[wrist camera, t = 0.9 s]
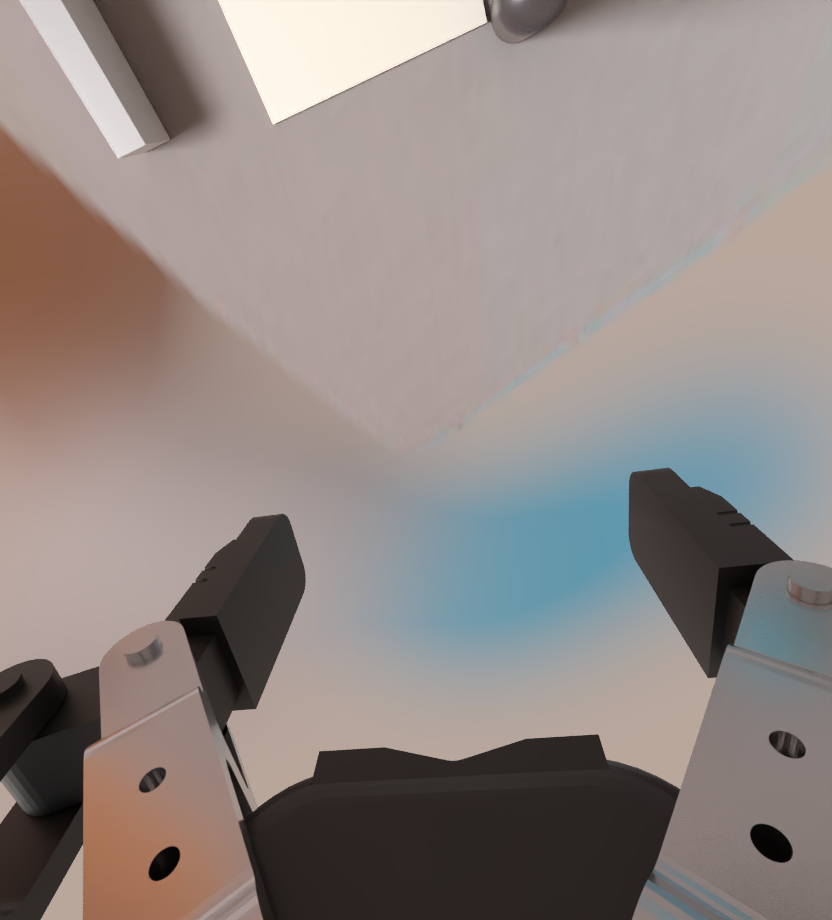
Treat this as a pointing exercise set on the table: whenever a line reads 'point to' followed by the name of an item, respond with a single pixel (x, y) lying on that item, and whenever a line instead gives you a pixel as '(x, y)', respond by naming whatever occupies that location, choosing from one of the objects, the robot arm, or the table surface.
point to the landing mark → (336, 42)
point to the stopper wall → (98, 73)
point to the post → (522, 17)
